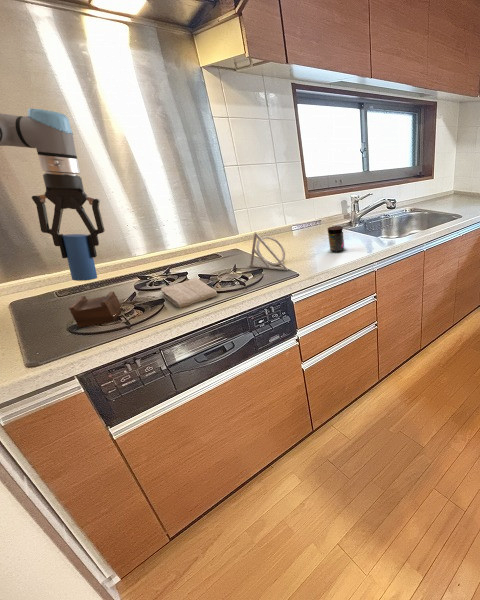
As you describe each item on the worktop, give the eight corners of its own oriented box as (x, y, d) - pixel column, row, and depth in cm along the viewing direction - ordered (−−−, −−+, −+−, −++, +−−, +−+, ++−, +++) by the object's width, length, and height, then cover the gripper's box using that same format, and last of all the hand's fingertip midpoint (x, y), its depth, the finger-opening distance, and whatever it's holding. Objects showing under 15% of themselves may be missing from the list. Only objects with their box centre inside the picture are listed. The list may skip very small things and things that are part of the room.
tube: (86, 236, 94) (90, 234, 98) (59, 236, 91) (64, 234, 95) (95, 280, 98) (98, 275, 102) (70, 281, 95) (74, 276, 99)
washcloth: (197, 283, 116) (195, 275, 115) (220, 296, 106) (217, 288, 104) (159, 294, 108) (156, 286, 107) (179, 310, 98) (176, 301, 96)
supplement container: (342, 253, 144) (340, 230, 140) (328, 252, 145) (325, 229, 141) (346, 248, 150) (344, 226, 146) (332, 248, 151) (330, 226, 147)
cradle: (89, 315, 96) (80, 296, 93) (122, 309, 99) (114, 291, 96) (78, 327, 89) (68, 307, 87) (114, 321, 92) (105, 301, 90)
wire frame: (283, 267, 144) (304, 254, 135) (265, 283, 134) (287, 270, 126) (253, 234, 137) (275, 218, 128) (233, 248, 127) (254, 232, 119)
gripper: (6, 169, 81) (30, 260, 88) (104, 177, 92) (119, 258, 99) (16, 170, 87) (38, 255, 94) (108, 177, 97) (122, 253, 104)
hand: (80, 256), depth 96 cm, fingers closed on tube, 6 cm apart
